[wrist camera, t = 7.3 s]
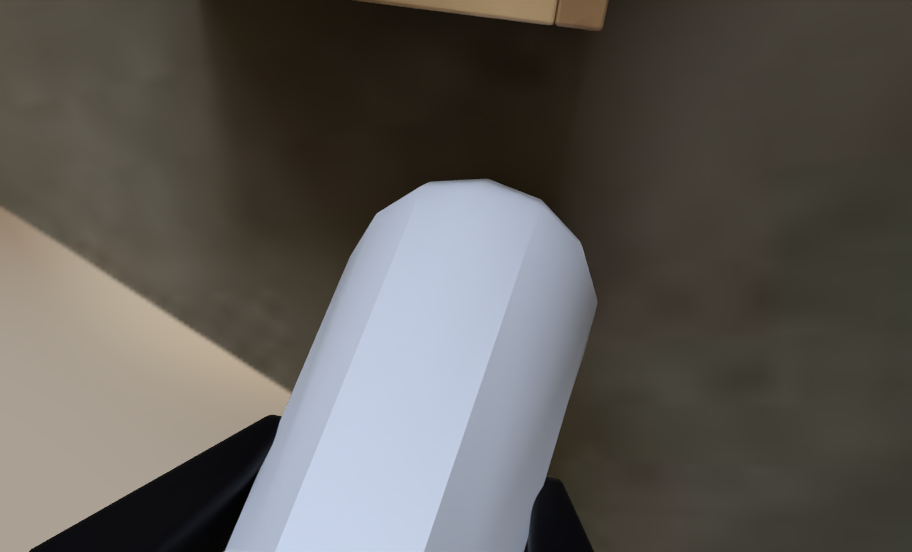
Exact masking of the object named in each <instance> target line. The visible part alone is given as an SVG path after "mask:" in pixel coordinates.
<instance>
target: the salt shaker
mask: <svg viewBox="0 0 912 552" xmlns="http://www.w3.org/2000/svg"><path fill="white" fill-rule="evenodd" d="M597 303H598V301H597V297H596V294H595V290H594V286H593V283H592V279H591V276H590V272H589V269H588V265H587V262H586V258H585V255H584V251H583V248H582V245H581V243H580V241H579V240H578V239H577V238H576V236H575V235H574V234H573V233H572V232H571V231H570V230H569V229H568V228H567V227H566V226H565V225H564V223H563V222H562V221H561V220H560V219H559V218H558V217H557V216H556V215H555V214H554V213H553V212H552V211H551V209H550V208H549V207H548V206H547V205H546V204H545V203H544V202H543V201H542V200H541V199H539V198H536V197H533V196H531V195H528V194H526V193H523V192H521V191H518V190H515V189H513V188H510V187H508V186H505V185H503V184H500V183H497V182H495V181H492V180H490V179H472V180H452V181H432V182H428V183H426V184H424V185H422V186H420V187H419V188H417V189H415V190H414V191H412V192H411V193H409V194H407V195H406V196H404V197H402V198H401V199H399V200H398V201H396V202H394V203H393V204H391V205H389V206H388V207H386V208H385V209H383V210H381V211H380V212H378V213H377V214H376V215H375V217H374V218H373V220H372V222H371V223H370V225H369V227H368V228H367V230H366V231H365V233H364V235H363V236H362V238H361V240H360V241H359V243H358V244H357V246H356V248H355V249H354V251H353V252H352V254H351V256H350V258H349V260H348V262H347V265H346V267H345V270H344V272H343V274H342V277H341V279H340V281H339V284H338V286H337V288H336V291H335V293H334V295H333V298H332V300H331V302H330V305H329V307H328V310H327V312H326V314H325V317H324V319H323V321H322V324H321V326H320V328H319V331H318V333H317V335H316V338H315V340H314V342H313V345H312V347H311V350H310V352H309V354H308V357H307V359H306V361H305V364H304V366H303V368H302V371H301V373H300V375H299V378H298V380H297V382H296V385H295V387H294V390H293V392H292V394H291V397H290V399H289V401H288V404H287V406H286V408H285V411H284V413H283V415H282V418H281V420H280V423H279V426H278V430H277V434H276V437H275V439H274V442H273V444H272V447H271V449H270V451H269V453H268V454H267V456H266V458H265V460H264V462H263V464H262V466H261V468H260V470H259V472H258V474H257V477H256V479H255V481H254V484H253V486H252V488H251V491H250V493H249V495H248V498H247V500H246V503H245V505H244V507H243V510H242V512H241V514H240V517H239V519H238V521H237V524H236V526H235V528H234V531H233V533H232V535H231V538H230V540H229V543H228V545H227V547H226V550H225V551H224V552H524V549H525V546H526V543H527V539H528V534H529V525H530V517H531V511H532V507H533V504H534V501H535V499H536V497H537V495H538V493H539V492H540V490H541V489H542V487H543V485H544V482H545V479H546V475H547V472H548V468H549V465H550V462H551V458H552V455H553V452H554V448H555V445H556V441H557V438H558V435H559V431H560V428H561V425H562V421H563V418H564V414H565V411H566V408H567V404H568V401H569V398H570V395H571V392H572V389H573V386H574V383H575V380H576V377H577V374H578V371H579V368H580V365H581V362H582V359H583V356H584V353H585V350H586V346H587V342H588V338H589V335H590V331H591V327H592V323H593V319H594V315H595V311H596V307H597Z"/></svg>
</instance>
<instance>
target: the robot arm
mask: <svg viewBox="0 0 912 552" xmlns="http://www.w3.org/2000/svg"><path fill="white" fill-rule="evenodd" d="M281 418H282V417H281V416H276V415H269V416H266V417H264V418H263V419H261V420H259V421H257V422H255V423H254V424H252V425H250V426H248V427H247V428H245V429H243V430H241V431H239V432H238V433H236V434H234V435H232V436H231V437H229V438H227V439H225V440H224V441H222V442H220V443H218V444H217V445H215V446H213V447H211V448H209V449H208V450H206V451H204V452H202V453H201V454H199V455H197V456H195V457H194V458H192V459H190V460H188V461H186V462H185V463H183V464H181V465H179V466H178V467H176V468H174V469H173V470H171V471H169V472H167V473H165V474H164V475H162V476H160V477H158V478H157V479H155V480H153V481H151V482H149V483H148V484H146V485H144V486H142V487H141V488H139V489H137V490H135V491H133V492H132V493H130V494H128V495H126V496H125V497H123V498H121V499H119V500H118V501H116V502H114V503H112V504H110V505H109V506H107V507H105V508H104V509H102V510H100V511H98V512H97V513H95V514H93V515H91V516H89V517H88V518H86V519H84V520H82V521H80V522H79V523H77V524H75V525H73V526H72V527H70V528H68V529H66V530H65V531H63V532H61V533H59V534H57V535H56V536H54V537H52V538H50V539H49V540H47V541H46V542H43V543H42V544H40V545H38V546H36V547H34V548H33V549H31V550H30V551H29V552H224V551H225V550H226V547H227V545H228V543H229V540H230V538H231V535H232V533H233V531H234V528H235V526H236V524H237V521H238V519H239V517H240V514H241V512H242V510H243V507H244V505H245V503H246V500H247V498H248V495H249V493H250V491H251V488H252V486H253V484H254V481H255V479H256V477H257V474H258V472H259V470H260V468H261V466H262V464H263V462H264V460H265V458H266V456H267V454H268V453H269V451H270V449H271V447H272V444H273V442H274V439H275V437H276V434H277V430H278V426H279V423H280V420H281ZM524 552H594V551H593V548H592V546H591V544H590V542H589V540H588V537H587V535H586V533H585V531H584V529H583V526H582V524H581V522H580V520H579V518H578V515H577V513H576V511H575V509H574V507H573V504H572V502H571V500H570V498H569V496H568V493H567V491H566V489H565V487H564V485H563V483H562V482H561V481H560V480H559V479H555V478H551V477H547V476H546V479H545V482H544V485H543V487H542V489H541V490H540V492H539V493H538V495H537V497H536V499H535V501H534V504H533V507H532V511H531V517H530V525H529V534H528V539H527V543H526V546H525V549H524Z"/></svg>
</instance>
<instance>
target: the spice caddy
mask: <svg viewBox="0 0 912 552" xmlns="http://www.w3.org/2000/svg"><path fill="white" fill-rule="evenodd" d="M354 1H361V2H369V3H377V4H385V5H393V6H401V7H409V8H417V9H424V10H432V11H440V12H448V13H456V14H464V15H472V16H479V17H487V18H495V19H503V20H511V21H519V22H527V23H535V24H542V25H553V24H554V23H555V25H557V26H558V27H566V28H574V29H582V30H590V31H601V30H602V29H603V26H604V22H605V17H606V12H607V7H608V2H609V0H354Z"/></svg>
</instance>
